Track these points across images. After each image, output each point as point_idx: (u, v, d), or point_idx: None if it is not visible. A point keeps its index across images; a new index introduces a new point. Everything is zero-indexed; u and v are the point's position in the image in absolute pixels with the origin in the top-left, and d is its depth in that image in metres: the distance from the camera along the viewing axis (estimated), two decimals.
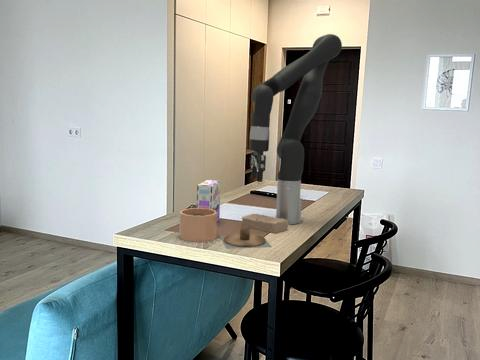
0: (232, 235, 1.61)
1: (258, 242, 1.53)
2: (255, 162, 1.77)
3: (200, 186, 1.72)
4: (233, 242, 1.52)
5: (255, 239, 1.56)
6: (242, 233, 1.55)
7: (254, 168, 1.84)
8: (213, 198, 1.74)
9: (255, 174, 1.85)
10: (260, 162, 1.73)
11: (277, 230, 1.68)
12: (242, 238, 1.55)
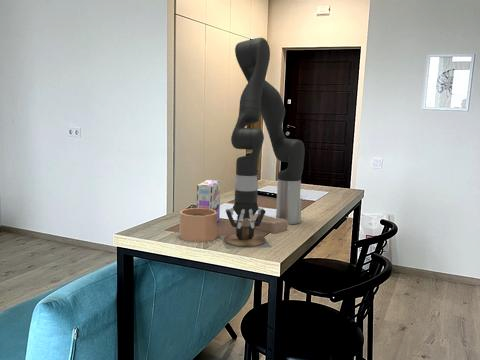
0: (232, 235, 1.61)
1: (258, 242, 1.53)
2: (252, 217, 1.54)
3: (200, 186, 1.72)
4: (233, 242, 1.52)
5: (255, 239, 1.56)
6: (242, 233, 1.55)
7: (240, 226, 1.56)
8: (213, 198, 1.74)
9: None
10: None
11: (276, 230, 1.68)
12: (242, 238, 1.55)
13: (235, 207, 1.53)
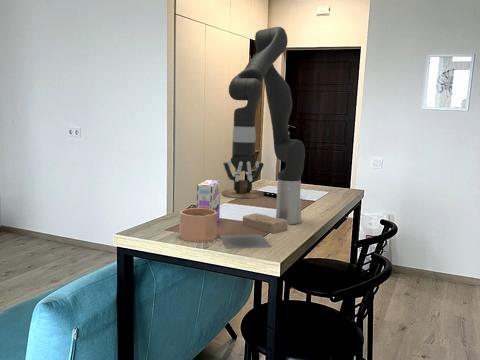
0: (230, 190, 1.58)
1: (256, 195, 1.51)
2: (250, 170, 1.52)
3: (200, 186, 1.72)
4: (231, 194, 1.50)
5: (253, 193, 1.54)
6: (240, 186, 1.53)
7: (238, 179, 1.53)
8: (213, 198, 1.74)
9: None
10: None
11: (275, 230, 1.68)
12: (240, 191, 1.53)
13: (233, 159, 1.51)
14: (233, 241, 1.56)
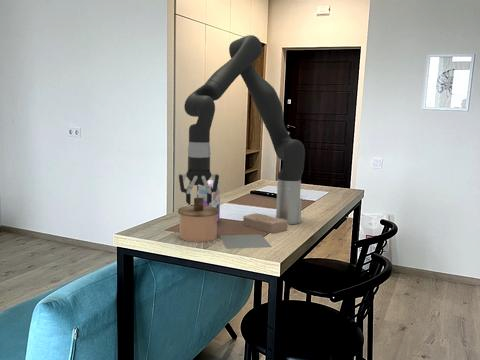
0: (187, 207, 1.64)
1: (210, 212, 1.56)
2: (206, 183, 1.57)
3: (200, 186, 1.72)
4: (186, 212, 1.55)
5: (208, 210, 1.59)
6: (195, 204, 1.58)
7: None
8: (213, 198, 1.74)
9: None
10: None
11: (275, 230, 1.68)
12: (195, 209, 1.58)
13: (188, 173, 1.56)
14: (233, 241, 1.56)
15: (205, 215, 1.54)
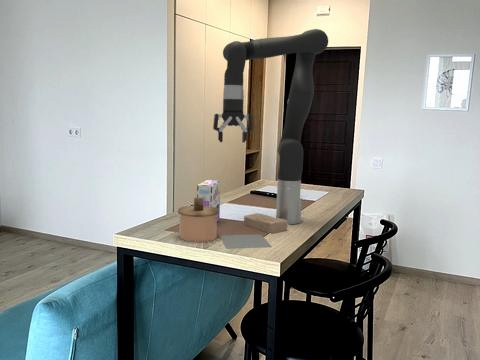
0: (187, 207, 1.64)
1: (210, 212, 1.56)
2: (241, 123, 1.71)
3: (200, 186, 1.72)
4: (186, 212, 1.55)
5: (208, 210, 1.59)
6: (195, 204, 1.58)
7: None
8: (213, 198, 1.74)
9: None
10: None
11: (274, 230, 1.68)
12: (195, 209, 1.58)
13: (224, 114, 1.70)
14: (233, 241, 1.56)
15: (205, 215, 1.54)
